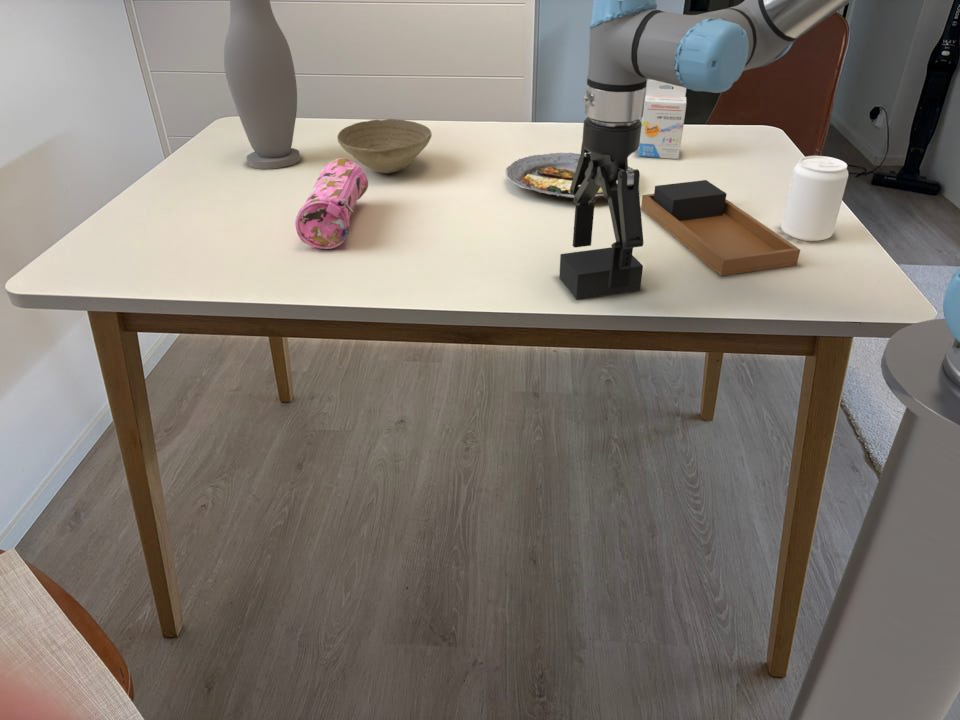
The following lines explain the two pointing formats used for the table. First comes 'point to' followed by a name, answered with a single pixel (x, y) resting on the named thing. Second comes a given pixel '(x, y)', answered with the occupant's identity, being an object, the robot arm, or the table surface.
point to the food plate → (546, 173)
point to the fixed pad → (691, 199)
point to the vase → (262, 83)
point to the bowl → (385, 143)
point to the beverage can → (814, 198)
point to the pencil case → (331, 204)
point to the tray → (727, 239)
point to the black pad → (594, 273)
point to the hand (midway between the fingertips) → (599, 265)
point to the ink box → (662, 121)
